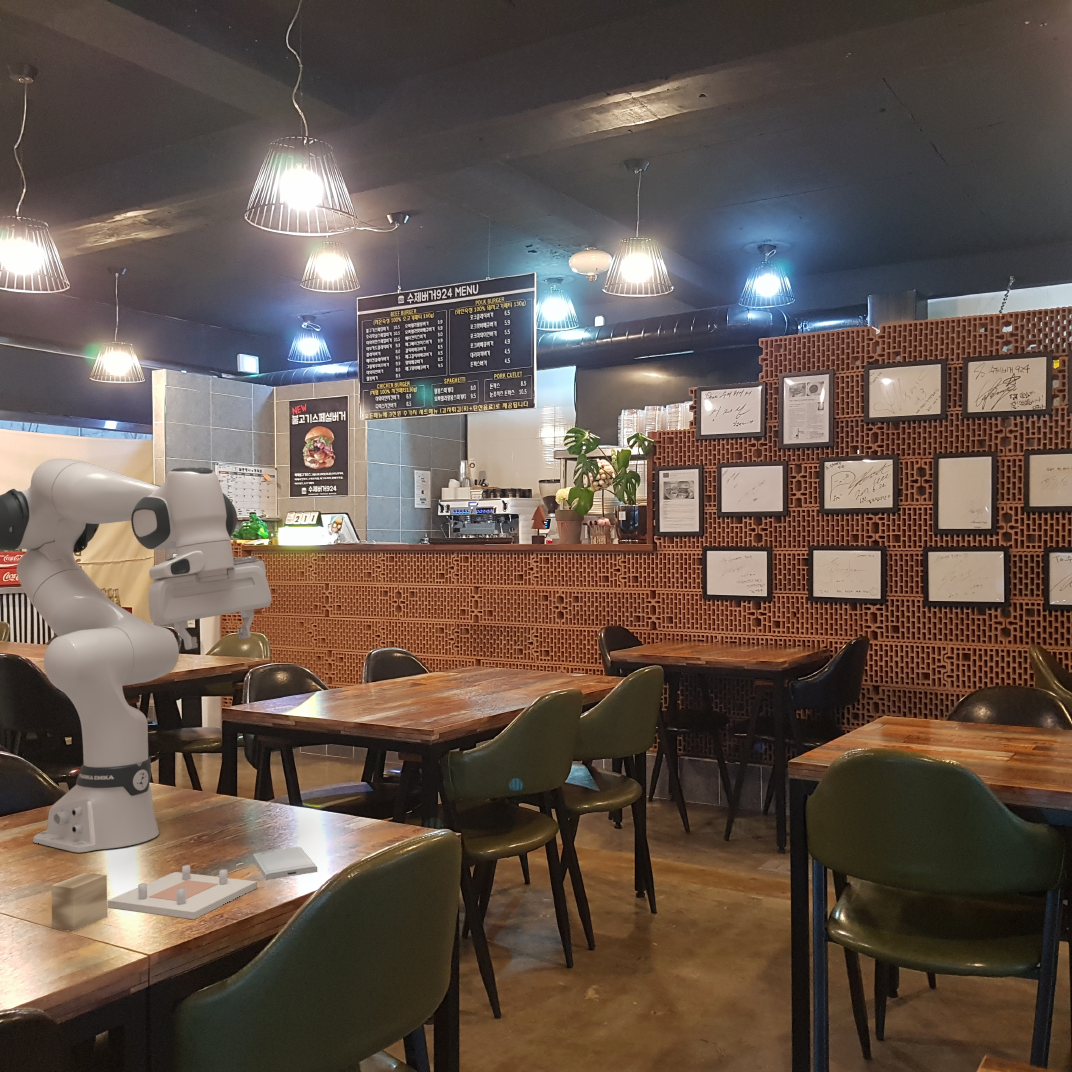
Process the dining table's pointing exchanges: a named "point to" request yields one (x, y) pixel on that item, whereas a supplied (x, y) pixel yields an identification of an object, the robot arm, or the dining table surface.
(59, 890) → the maple block
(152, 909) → the pin base
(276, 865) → the hard drive
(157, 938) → the dining table surface
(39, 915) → the dining table surface
